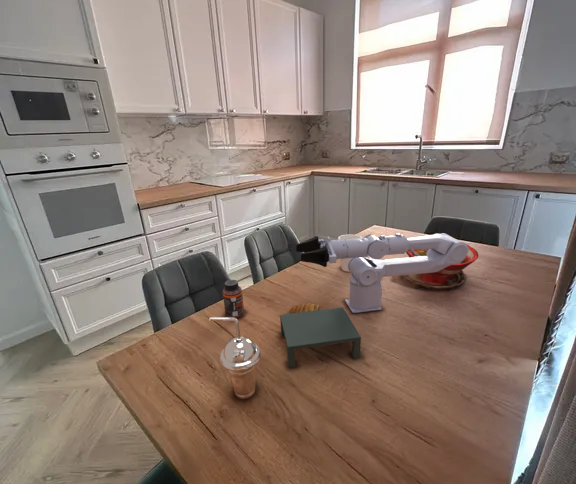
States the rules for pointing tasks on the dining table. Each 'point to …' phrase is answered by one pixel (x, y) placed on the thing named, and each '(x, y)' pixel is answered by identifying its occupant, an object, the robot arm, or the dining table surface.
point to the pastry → (304, 308)
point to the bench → (318, 330)
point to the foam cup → (345, 261)
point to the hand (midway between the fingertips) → (298, 252)
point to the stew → (437, 273)
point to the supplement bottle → (233, 299)
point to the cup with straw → (240, 361)
